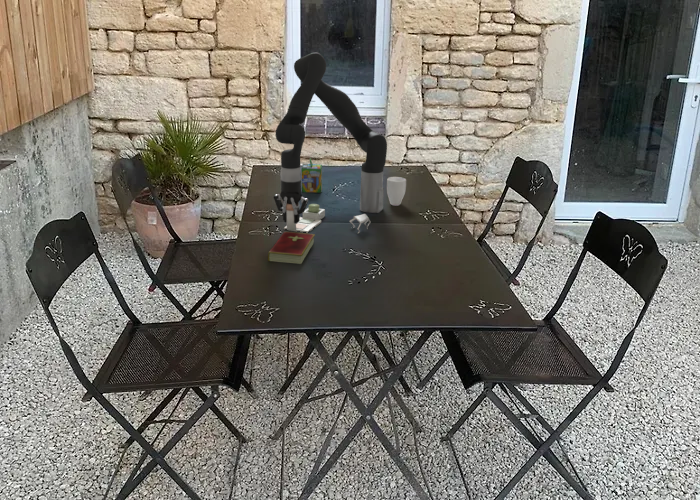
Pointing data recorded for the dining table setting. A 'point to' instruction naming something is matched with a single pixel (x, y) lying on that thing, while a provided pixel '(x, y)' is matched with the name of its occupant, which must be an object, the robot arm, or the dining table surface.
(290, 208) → the marker
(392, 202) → the mug
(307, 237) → the hardcover book
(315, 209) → the button
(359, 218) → the origami figure
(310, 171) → the chalk box
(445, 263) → the dining table surface
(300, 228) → the colouring board
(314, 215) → the button housing
